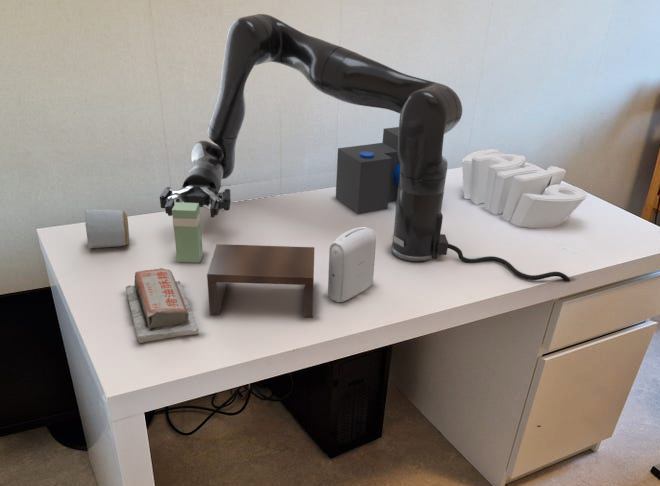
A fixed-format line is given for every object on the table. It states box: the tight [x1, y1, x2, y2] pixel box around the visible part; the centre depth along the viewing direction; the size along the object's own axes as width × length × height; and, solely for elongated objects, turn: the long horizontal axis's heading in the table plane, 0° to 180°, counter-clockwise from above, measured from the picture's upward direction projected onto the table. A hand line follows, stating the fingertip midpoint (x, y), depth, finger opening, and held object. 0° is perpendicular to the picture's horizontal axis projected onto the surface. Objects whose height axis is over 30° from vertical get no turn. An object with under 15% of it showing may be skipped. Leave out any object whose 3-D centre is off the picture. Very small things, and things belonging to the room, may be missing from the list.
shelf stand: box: [206, 243, 315, 319], centre depth 119 cm, size 18×12×8 cm, turn 91°
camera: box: [335, 126, 400, 215], centre depth 159 cm, size 25×16×16 cm, turn 119°
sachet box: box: [172, 201, 204, 264], centre depth 131 cm, size 5×4×11 cm
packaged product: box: [125, 267, 199, 344], centre depth 115 cm, size 18×5×10 cm
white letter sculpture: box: [461, 148, 588, 229], centre depth 162 cm, size 35×16×11 cm, turn 28°
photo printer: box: [327, 226, 377, 303], centre depth 122 cm, size 10×4×12 cm, turn 140°
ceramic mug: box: [84, 209, 130, 249], centre depth 136 cm, size 11×8×8 cm
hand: (190, 212), depth 133 cm, fingers open, 8 cm apart
